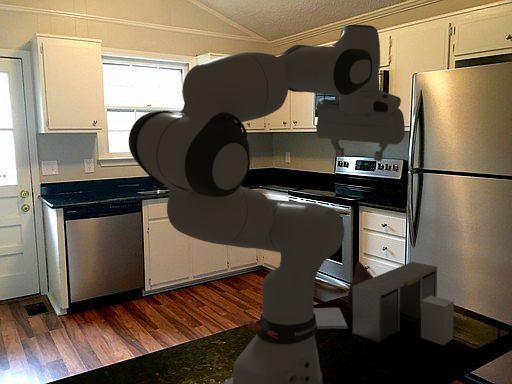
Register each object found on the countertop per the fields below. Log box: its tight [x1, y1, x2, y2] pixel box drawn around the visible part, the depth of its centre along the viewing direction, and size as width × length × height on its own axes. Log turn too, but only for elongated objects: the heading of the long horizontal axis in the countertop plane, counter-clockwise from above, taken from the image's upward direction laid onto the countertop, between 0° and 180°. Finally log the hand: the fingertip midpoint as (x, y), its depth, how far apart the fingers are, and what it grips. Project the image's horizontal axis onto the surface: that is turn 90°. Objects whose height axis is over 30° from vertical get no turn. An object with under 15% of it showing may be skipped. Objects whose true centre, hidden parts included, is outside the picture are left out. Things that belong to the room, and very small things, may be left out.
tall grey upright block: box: [420, 296, 455, 346], centre depth 111 cm, size 5×6×10 cm
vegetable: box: [347, 260, 375, 310], centre depth 135 cm, size 10×10×15 cm
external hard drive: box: [314, 307, 348, 330], centre depth 125 cm, size 2×8×12 cm
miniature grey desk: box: [352, 261, 438, 344], centre depth 122 cm, size 31×9×13 cm, turn 132°
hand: (358, 157), depth 104 cm, fingers open, 8 cm apart
